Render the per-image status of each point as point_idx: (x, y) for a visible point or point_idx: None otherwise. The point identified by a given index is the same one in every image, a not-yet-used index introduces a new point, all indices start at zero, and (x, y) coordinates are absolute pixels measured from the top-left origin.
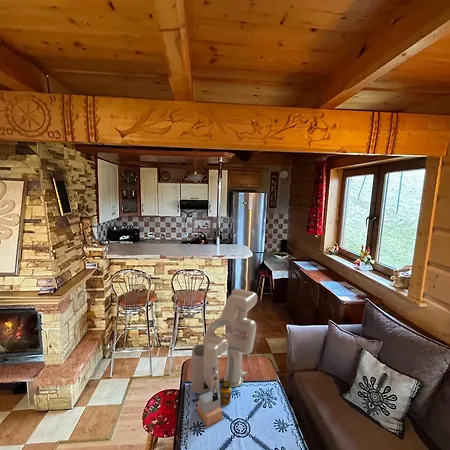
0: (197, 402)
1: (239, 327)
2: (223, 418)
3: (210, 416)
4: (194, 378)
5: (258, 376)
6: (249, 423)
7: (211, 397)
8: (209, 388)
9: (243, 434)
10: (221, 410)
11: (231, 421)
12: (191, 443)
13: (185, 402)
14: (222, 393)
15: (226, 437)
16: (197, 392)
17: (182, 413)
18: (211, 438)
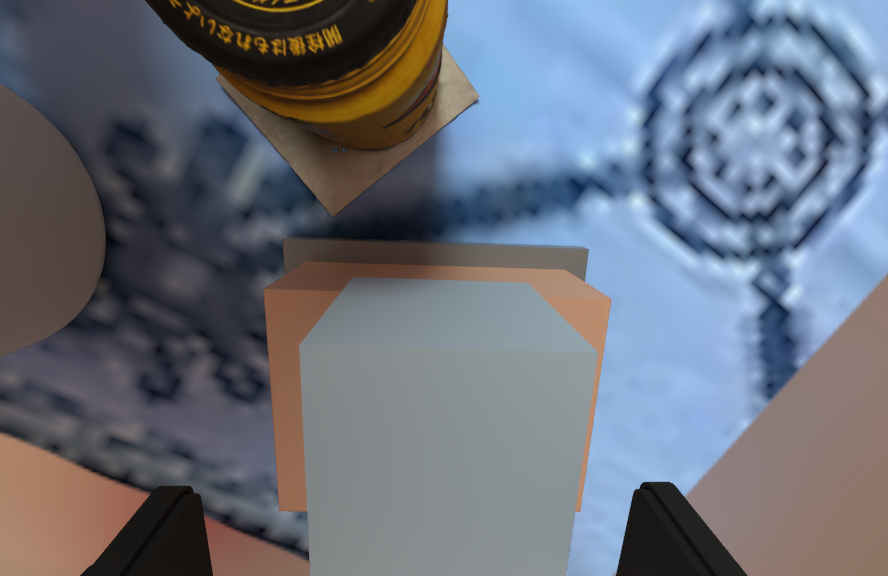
0: (288, 507)
1: None
2: (573, 255)
3: (584, 473)
4: None
5: None
6: (801, 10)
7: (498, 540)
8: (50, 156)
9: (837, 173)
10: (605, 311)
11: (638, 186)
12: None
13: (151, 473)
14: (369, 126)
15: (737, 337)
16: (60, 326)
17: (274, 542)
18: (653, 449)
